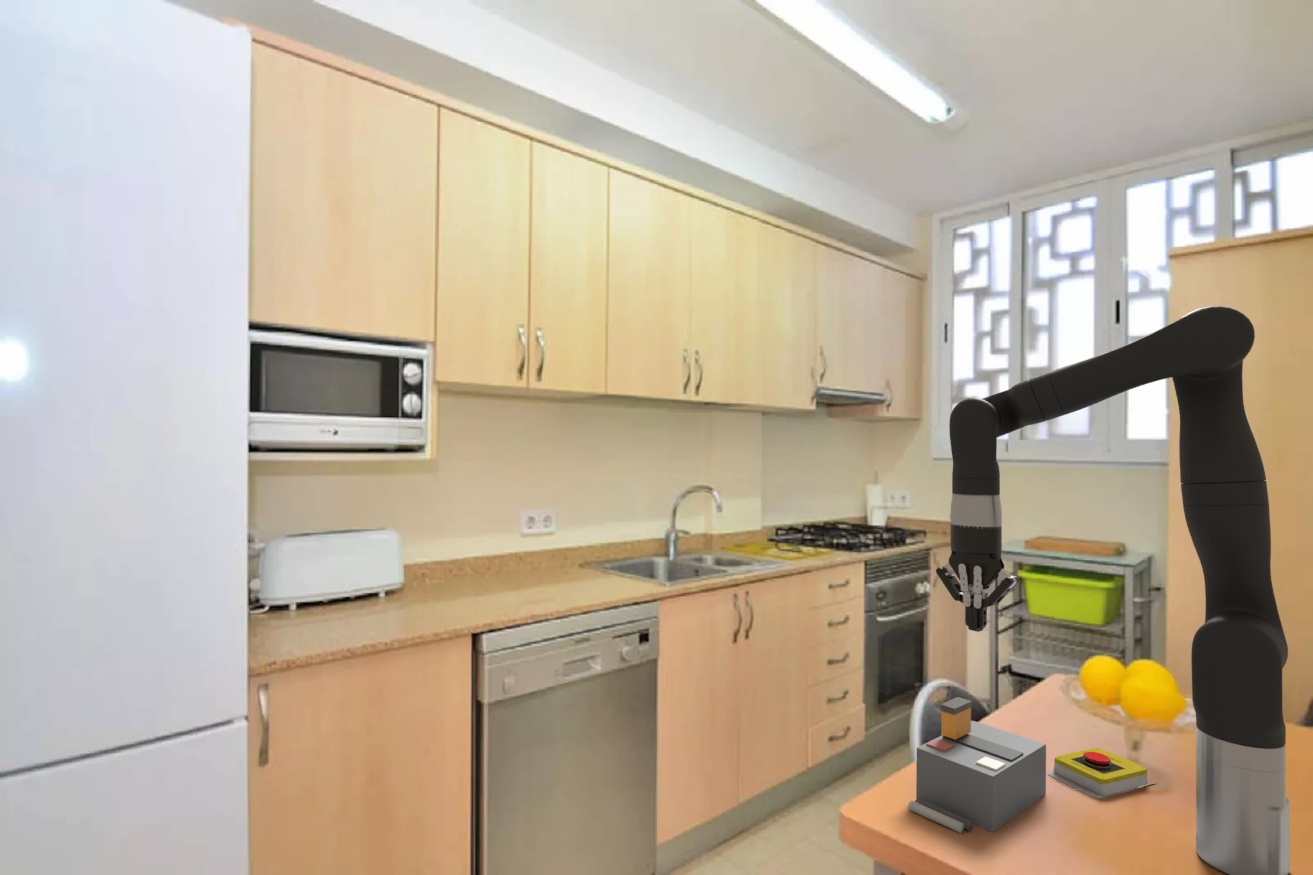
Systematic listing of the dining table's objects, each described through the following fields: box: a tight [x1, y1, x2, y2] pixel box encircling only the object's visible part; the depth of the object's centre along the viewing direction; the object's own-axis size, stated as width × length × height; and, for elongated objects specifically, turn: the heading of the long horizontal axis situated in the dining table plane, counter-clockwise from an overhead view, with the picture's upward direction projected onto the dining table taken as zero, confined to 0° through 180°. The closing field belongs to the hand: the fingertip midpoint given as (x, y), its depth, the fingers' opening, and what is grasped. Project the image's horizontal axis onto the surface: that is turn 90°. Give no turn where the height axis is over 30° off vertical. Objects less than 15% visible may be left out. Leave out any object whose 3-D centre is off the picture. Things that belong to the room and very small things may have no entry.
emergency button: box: [1047, 747, 1148, 799], centre depth 116 cm, size 9×4×15 cm
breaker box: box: [915, 720, 1047, 833], centre depth 110 cm, size 12×18×8 cm, turn 129°
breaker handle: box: [940, 696, 973, 740], centre depth 113 cm, size 2×6×5 cm, turn 129°
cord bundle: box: [907, 799, 974, 834], centre depth 102 cm, size 9×3×1 cm, turn 39°
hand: (975, 630), depth 111 cm, fingers closed
